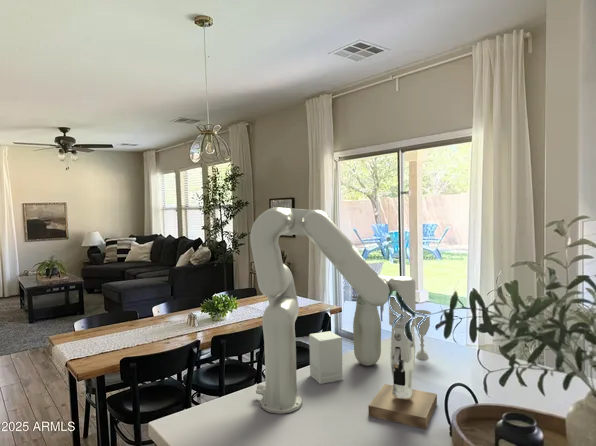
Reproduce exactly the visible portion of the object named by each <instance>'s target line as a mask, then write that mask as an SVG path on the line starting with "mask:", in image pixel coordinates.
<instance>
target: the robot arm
mask: <svg viewBox="0 0 596 446" xmlns="http://www.w3.org/2000/svg"><path fill="white" fill-rule="evenodd" d="M283 235H295V236H306V237H307V238H308V239H309V240H310V241H311V242H312V243H313V244H314V245H315V246H316V247H317V248H318V250H319V251H320V252H321V253H322V254H323V255H324V256H325V257H326V258H327V259H328V260H329V262H330V263H331V264H332V265H333V266H334V268H335V269H336V270H337V271H338V273H340V274H341V276H342V277H343V278H344V279H345V281H346V282H347V283H348V284H349V285H350V286H351V287H352V289H354V291H356V293H357V295H358V294H359V295H360V296H361V297H362V298H363V299H364V300H365V301H366V302H367V303H368V304H370V305H372V306H377V307H381V306H384V305H385V304H386V303H388V302H389V300H388V294H389V292H391V291H397V292H399V294H400V295H401V297H402V298H403V300H404V301H405V303H406V304H407V305H408V306H409V307H410V308H411V309H412V310H413V311H415V312H416V310H417V309H416V299H417V298H416V296H417V295H416V281H415V279H414V278H413V277H410V276H405V275H404V276H403V275H401V276H400V275H397V276H387V275H381V274H377V273H376V272H375V271H374V269H372V267H370V265H369V264H368V263H367V262H366V260H365V259H364V258H363V256H362V255H361V253H360V251H359V250H358V248H357V247H356V245H355V244H354V243H353V241H351V240H350V239H349V238H348V237H347V235H346V234H345V233H344V232H342V230H341V229H340V228H339V227H338V225H336V223H334V221H332V219H330V216H329V214H328V213H327V212H326V211H324V210H320V209H305V208H304V209H303V208H292V207H278V206H275V207H270V208H269V209H267V210H265V211H264V212H262V213H261V214H259V215H258V217H257V218H256V219H255V220H254V222H253V224H252V226H251V229H250V236H249V237H250V239H249V240H250V247H251V252H252V257H253V263H254V264H253V265H254V269H255V275H256V280H257V284H258V285H257V286H258V289H259V291H260V292H261V293H262V295H263V296H264V297H267V300H268V303H269V304H268V305H267V306H266V308H265V310H264V311H263V315H262V321H261V322H262V323H261V324H262V331H263V333H262V334H263V341H264V342H263V343H264V344H263V346H264V372H265V373H264V377H265V379H264V380H265V382H264V383H265V385H264V384H260V383H259V384H257V386H256V390H255V393H256V394H257V395H260V396H262V398H261V400H260V406H261V408H262V410H264V411H266V412H268V413H270V414H271V413H272V414H280V415H281V414H288V413H292V412H295V411H297V410H299V409H300V408H301V407H302V404H303V399H302V397H301V395H299V394H298V393H297V392H298V391H297V390H298V389H297V387H298V386H297V384H298V383H297V379H298V378H297V348H296V347H297V346H296V330H295V328H296V327H295V325H296V324H295V323H296V320H297V318H298V316H299V312H300V305H299V301H298V297H297V290H296V286H295V280H294V276H293V274H292V271H291V270H290V268H289V267H288V266H287V265H286V264H284V261H283V258H282V252H281V247H280V245H279V238H280V237H281V236H283ZM390 305H391V307H392V309H393V310H394V311H395V312H397V313H398V314H403V315H405V316H407V317H404V318H400V319H399V320H398V321H397V322H396V323H395V326H394V328H393V323H394V321H395V319H396V318H397V316H396V315H394V314H393V312H392V311H391V309H390V307H389V306H388V316H389V317H388V324H389V325H390V326H391V339H390V341H391V342H390V353H391V357H392V360H394V361H393V364H394V365H393V366H394V369H393V370H394V384H396V385H402V386H405V371H404V363H405V362H406V363H408V362H409V361H410V360H411V347H412V346H413V344H414V352H415V353H416V335H415V325H416V318H415V319H413V321H412V325H411V332H412V334H413V342H411V341H409V340H408V339H407V338H406V336H405V334H404V325H405V323H406V322H407V321H408V320H409V319H410V318H411V316H410V315H408V314H407V313H405V312H403V311H402V310H401V308H400V306H399V304H398V303H397V302H396V300H395V298H394V297H390ZM394 331H395V333H394ZM400 354H401V356H402V359H403V360H399V359H400ZM394 355H395V356H394ZM393 356H394V357H393ZM404 361H405V362H404ZM399 362H401V363H402V367H401V365H400V364H399Z"/></svg>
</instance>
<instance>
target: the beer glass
mask: <svg viewBox="0 0 596 446" xmlns="http://www.w3.org/2000/svg"><path fill="white" fill-rule="evenodd" d="M389 354H390V358H389V359H390V360H389V361H390V368H391V375H392V379H393V390H392V395H393V396H394V397H395V398H398V399H402V400H408V399H411V398H413V379H414V371H415V365H416V351H415V352H414V344H413V346H412V347H411V360H410V361H409V362H408V363H406V362H405V361H404V362H405V363H404V371H405V386H402V385H396V384H394V370H393V369H394V366H393V365H394V364H393V361H394V360H392V357H391V352H390V353H389ZM394 356H395V355H394ZM394 356H393V357H394ZM399 360H403V359H402V356H401V354H400V359H399ZM399 364H400V365H401V367H402V363H401V362H399Z"/></svg>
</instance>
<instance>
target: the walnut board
mask: <svg viewBox="0 0 596 446" xmlns="http://www.w3.org/2000/svg"><path fill="white" fill-rule="evenodd" d="M412 389H413V388H412ZM392 390H393V385H392V384H387V383H385V384H384V385H382V387H381V389H379V391H378V392H377V393H376V394H375V396H374V397H373V399H372V400H371V401H370V403H369V404H368V406H367V407H368V416H369V417H372V418H377V419H380V420H385V421H389V422H394V423H398V424H402V425H406V426H410V427H411V426H412V427H414V428H420V429H424V430H427V428H428V426H429V423H430V421H431V418H432V416H433V414H434V411H435V410H436V406H437V405H438V394H437V393H434V392H428V391H424V390H419V389H418V390H417V389H413V398H411V399H408V400H402V399H398V398H395V397H394V396H393V395H392ZM436 404H437V405H436Z"/></svg>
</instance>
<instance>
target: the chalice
mask: <svg viewBox="0 0 596 446" xmlns="http://www.w3.org/2000/svg"><path fill="white" fill-rule="evenodd" d="M416 312H419V313H423V314H430V316H429V317H427V318H426V320H425V321H423V323H422V324H421V325H420V328H419V334H420V335H421V336H420V335H419V334H418V335H419V336H420V340H419V342H420V344H419V347H420V350H418V351H417V353H416V354H415V359H417V360H420V361H426V360H429V359H430V357H429V354H428V352H427V351H426V350H424V347H425V344H424V343H425V340H424V336H426V335H427V333H428V331H429V329H430V325H431V323H430V322H431V321H430V320H431V319H430V318H431V314H432V312H431V311H429V310H424V309H416ZM422 319H423V317H417V318H416V325H415V326H414V329H415V330H416V331H417V325H418V323H419V322H420V321H421V320H422Z"/></svg>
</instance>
